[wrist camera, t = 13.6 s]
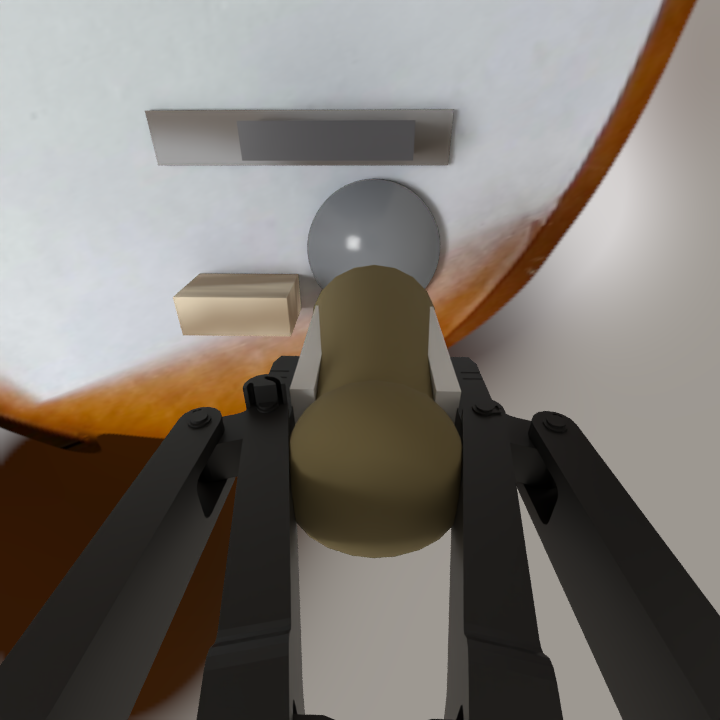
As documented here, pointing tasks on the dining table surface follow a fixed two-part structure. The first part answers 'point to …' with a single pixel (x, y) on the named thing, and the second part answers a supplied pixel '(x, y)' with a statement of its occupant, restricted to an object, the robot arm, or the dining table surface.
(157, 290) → the dining table surface
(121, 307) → the dining table surface
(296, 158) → the bar
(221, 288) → the assorted toy blocks
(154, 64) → the dining table surface
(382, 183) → the coaster
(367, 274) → the olive pepper mill
